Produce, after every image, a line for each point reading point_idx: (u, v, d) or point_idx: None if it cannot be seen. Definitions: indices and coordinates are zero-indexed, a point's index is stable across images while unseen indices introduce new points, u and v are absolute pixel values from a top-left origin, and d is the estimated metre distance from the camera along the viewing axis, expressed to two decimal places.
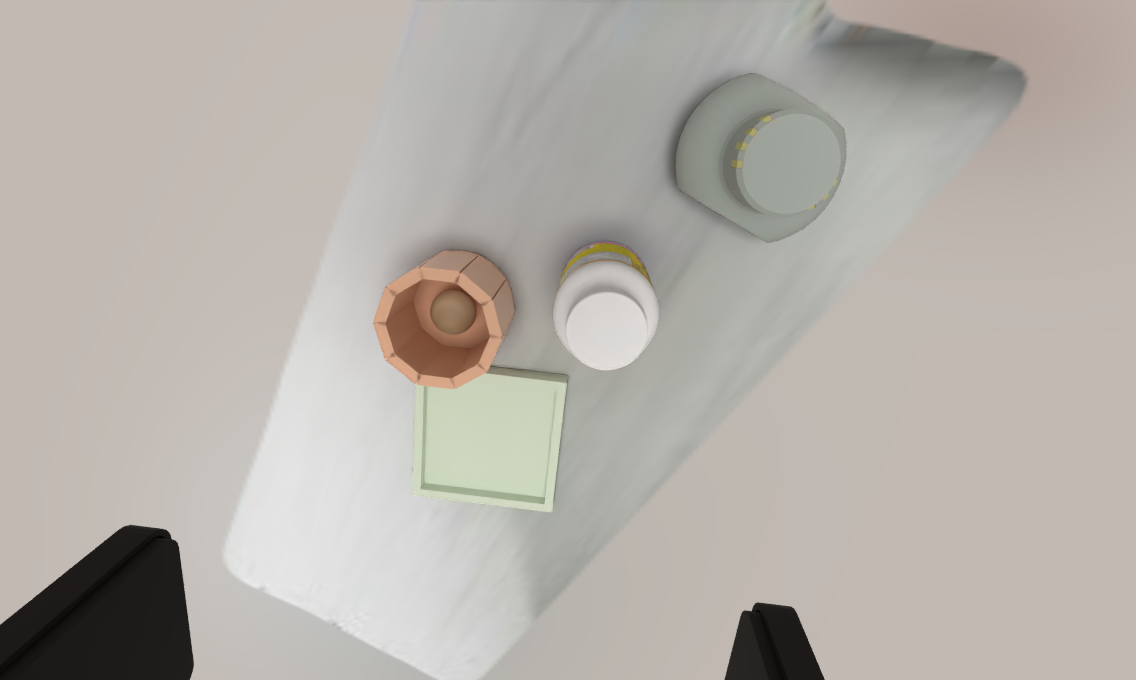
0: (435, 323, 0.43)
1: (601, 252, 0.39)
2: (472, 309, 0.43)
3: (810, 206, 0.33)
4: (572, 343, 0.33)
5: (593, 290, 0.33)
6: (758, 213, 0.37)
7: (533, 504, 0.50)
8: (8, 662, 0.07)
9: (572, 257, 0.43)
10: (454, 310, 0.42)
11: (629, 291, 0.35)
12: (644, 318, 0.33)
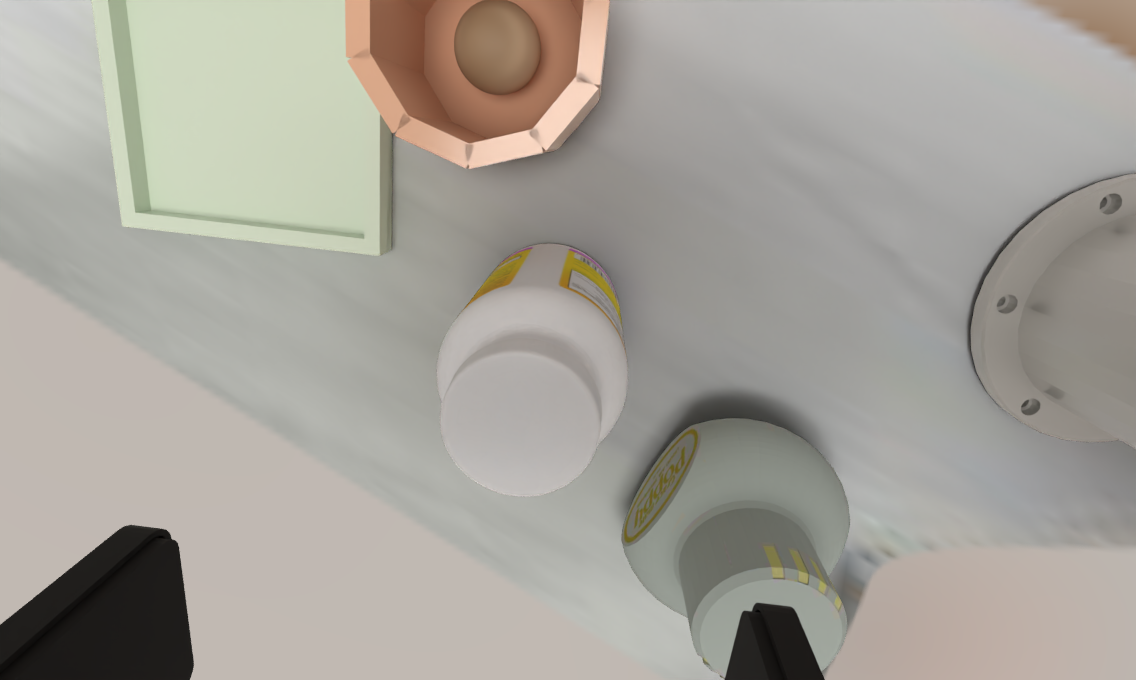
0: (476, 11, 0.22)
1: None
2: (506, 90, 0.23)
3: (708, 660, 0.23)
4: (493, 365, 0.16)
5: (597, 393, 0.17)
6: (675, 552, 0.26)
7: (129, 191, 0.27)
8: (8, 662, 0.07)
9: (598, 269, 0.26)
10: (505, 55, 0.22)
11: None
12: (549, 491, 0.17)
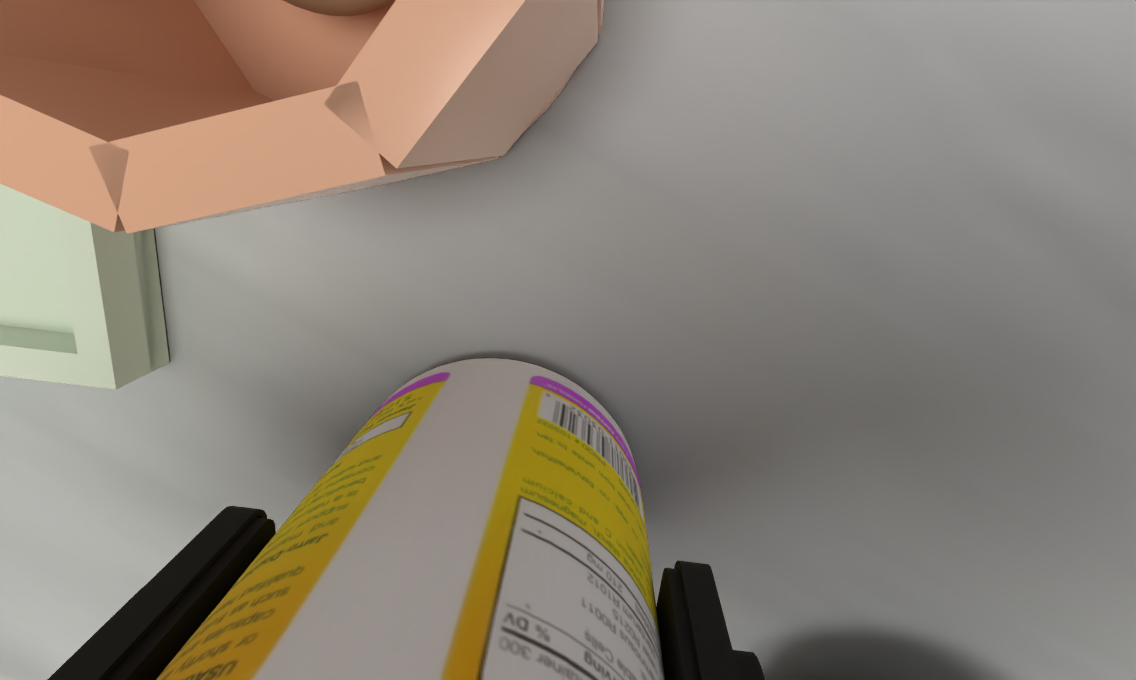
0: None
1: None
2: None
3: None
4: None
5: None
6: None
7: None
8: (153, 624, 0.07)
9: (597, 430, 0.11)
10: None
11: None
12: None
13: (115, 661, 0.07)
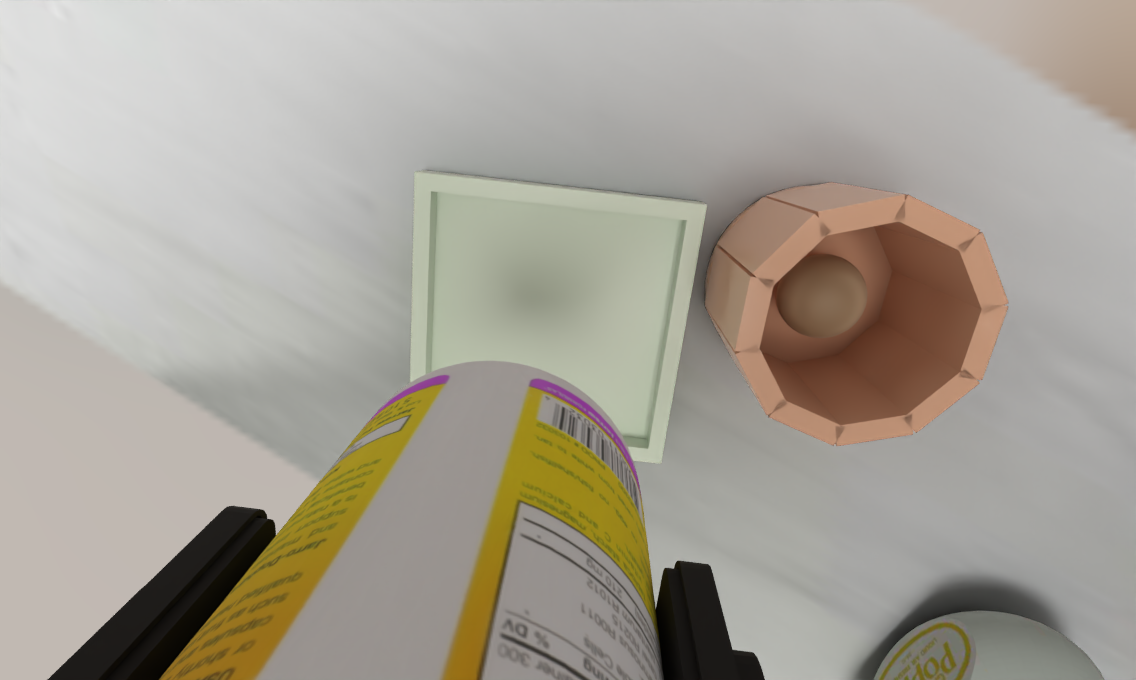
0: (820, 275, 0.22)
1: None
2: None
3: None
4: None
5: None
6: None
7: None
8: (153, 624, 0.07)
9: (596, 433, 0.11)
10: (847, 317, 0.23)
11: None
12: None
13: (114, 661, 0.07)
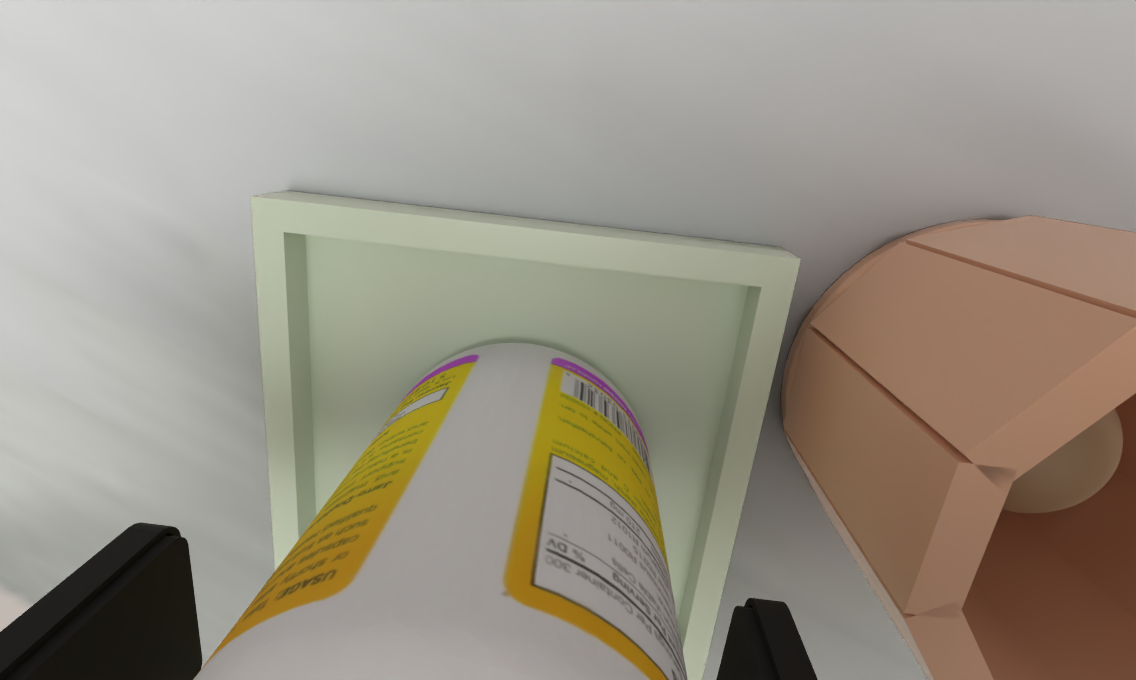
0: None
1: None
2: None
3: None
4: None
5: None
6: None
7: None
8: (23, 657, 0.07)
9: (612, 405, 0.13)
10: (1091, 490, 0.11)
11: None
12: None
13: None
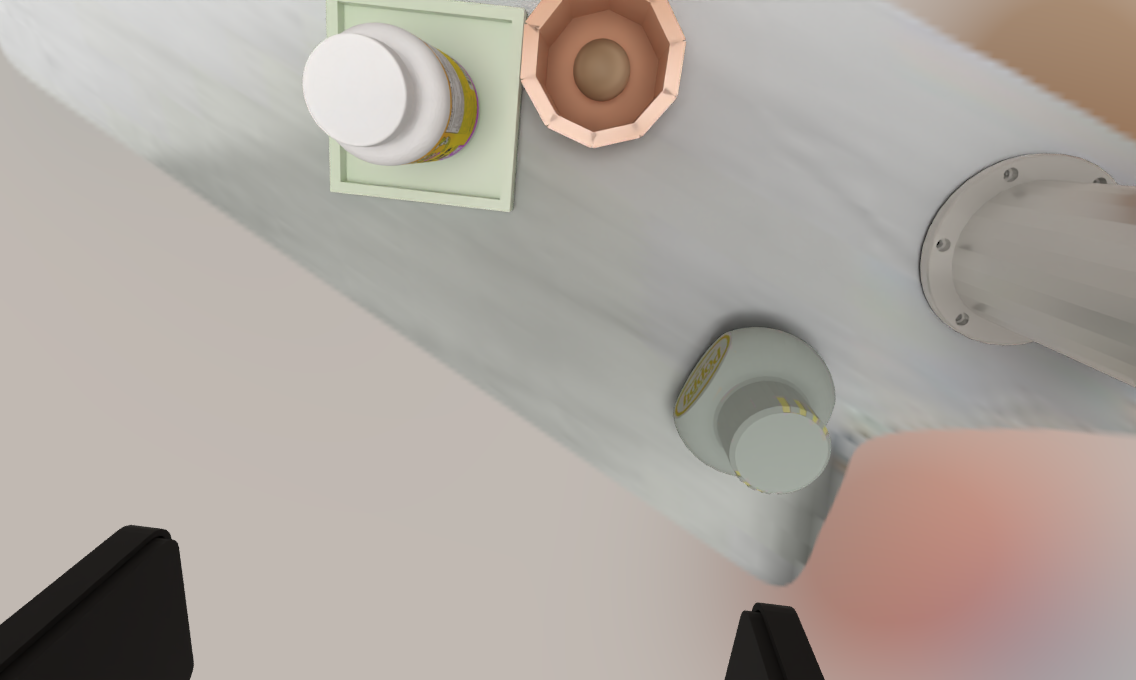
0: (592, 47, 0.34)
1: (462, 95, 0.32)
2: (607, 98, 0.35)
3: (740, 472, 0.35)
4: (333, 43, 0.25)
5: (407, 73, 0.26)
6: (715, 414, 0.38)
7: (337, 167, 0.39)
8: (8, 662, 0.07)
9: (457, 62, 0.35)
10: (610, 75, 0.34)
11: (412, 124, 0.28)
12: (377, 141, 0.26)
13: None
